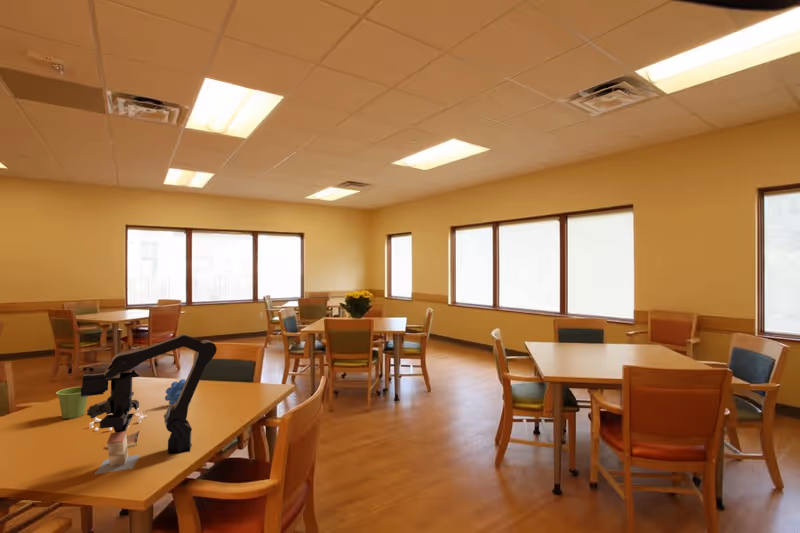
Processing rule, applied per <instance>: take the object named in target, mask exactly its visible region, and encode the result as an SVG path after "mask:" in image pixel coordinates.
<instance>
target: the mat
mask: <svg viewBox="0 0 800 533" xmlns="http://www.w3.org/2000/svg"><path fill="white" fill-rule="evenodd" d="M140 457H141V454H136V455H128V457H127V460H126V463H125V464H123V465H116V466H110V461H109V458H107V459H104V460H103V462H102V463H101V464H100V466H99V467H98V468H97V470H96V471H95V473H94V475H98V474H106V473H111V472H118V471H126V470H131V469H134V468H135V465H136V464H137V462H138V461H139V458H140Z"/></svg>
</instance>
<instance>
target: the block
mask: <svg viewBox="0 0 800 533" xmlns="http://www.w3.org/2000/svg"><path fill="white" fill-rule="evenodd" d="M127 436H128V435H127V430H126V431H123V432H115V431H114V432H111V433H110V435H109V437H108V438H107V442H106V445H108V448H107V451H108V452H107V453H108V459H109V461H110V466H116V465H123V464H125V463H126V460H127V457H128V456H129V447H128V446H127Z"/></svg>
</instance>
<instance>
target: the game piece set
mask: <svg viewBox="0 0 800 533" xmlns="http://www.w3.org/2000/svg"><path fill="white" fill-rule="evenodd" d="M139 410H140V407H139V408H138V409H137V410H136V413H134V416H135V417H138V418H137V420H136V422H137V423H139V424H140V423H141V422H142V420H143V419H144V418H147V416H148V415H147V414H143V412H142V410H140V411H139ZM107 415H112V413H111V414H107ZM101 420H102V419H101V418H98V416H96V417H95V418H94V420H93V421H92V422H89V424H88V425H89V427H88V429H92V428H93V429H94V432H98V431H99V428H98V426H96V427H95V426H94V423H99V422H100V421H101ZM94 427H95V428H94ZM128 428H130V425H128V427H127V429H128ZM107 430H108V432H111V431H112V430H113V427H111V428H107Z"/></svg>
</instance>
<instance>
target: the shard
mask: <svg viewBox="0 0 800 533" xmlns="http://www.w3.org/2000/svg"><path fill="white" fill-rule="evenodd" d="M139 434H140V430H138V431H136V432H133V433H131V434H129V435H126V436H127V446H128V448H131V447H135V446H138V443H139V438H140V435H139ZM105 449H108V445H107V444H106V445H105Z"/></svg>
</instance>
